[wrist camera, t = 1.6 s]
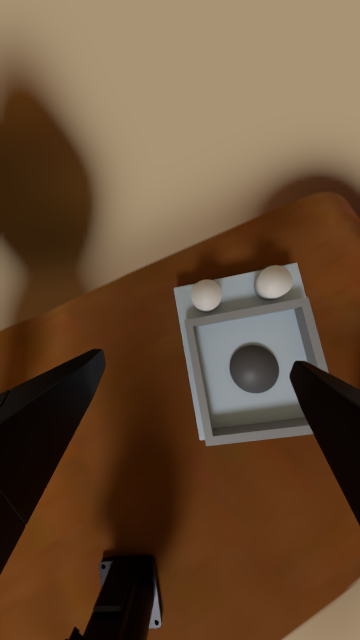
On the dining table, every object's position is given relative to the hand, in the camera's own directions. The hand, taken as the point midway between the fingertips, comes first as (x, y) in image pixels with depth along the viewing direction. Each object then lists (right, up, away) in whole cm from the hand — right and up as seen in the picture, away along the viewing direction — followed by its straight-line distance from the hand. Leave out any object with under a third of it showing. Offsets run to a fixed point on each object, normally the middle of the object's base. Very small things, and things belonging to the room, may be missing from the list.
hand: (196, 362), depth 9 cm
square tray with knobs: (+7, -2, +14) cm, 16 cm away
